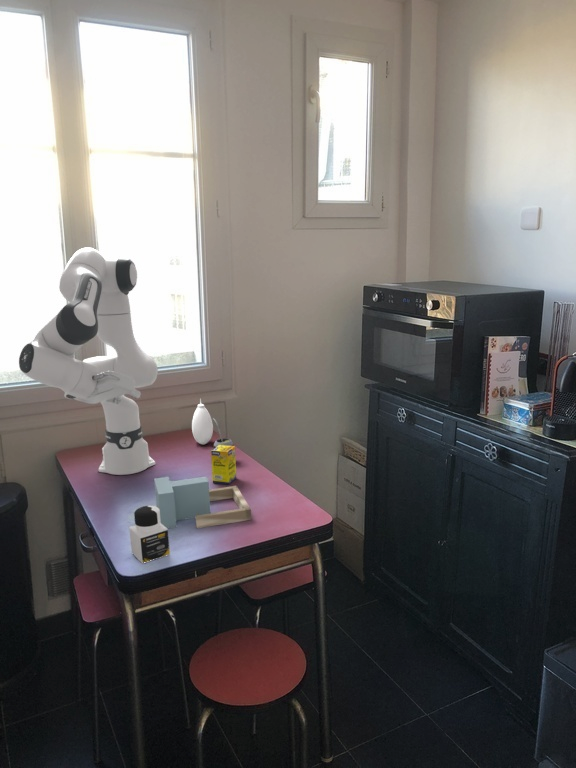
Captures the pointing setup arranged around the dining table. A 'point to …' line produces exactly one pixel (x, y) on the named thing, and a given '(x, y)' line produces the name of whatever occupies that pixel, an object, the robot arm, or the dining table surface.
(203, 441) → the white bulb air blower
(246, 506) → the frame
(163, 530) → the medicine bottle
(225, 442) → the mate gourd
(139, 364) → the robot arm
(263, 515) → the dining table surface
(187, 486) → the blue block with tab
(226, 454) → the supplement box
